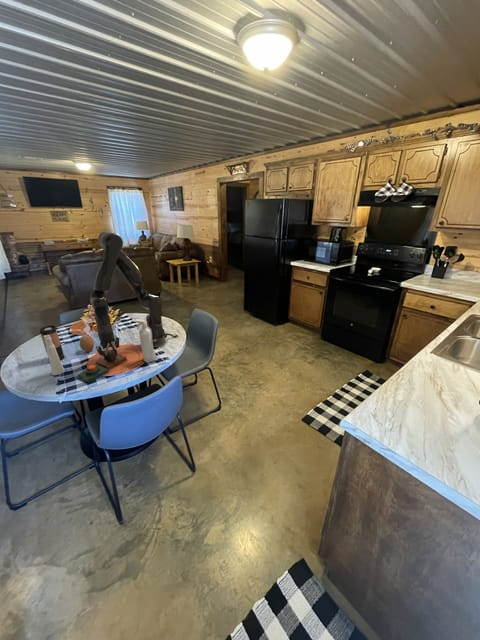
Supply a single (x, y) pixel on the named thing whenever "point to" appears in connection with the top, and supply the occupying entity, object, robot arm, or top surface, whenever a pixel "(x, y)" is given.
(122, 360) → the panel
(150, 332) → the fire extinguisher
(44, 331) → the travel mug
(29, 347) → the top surface
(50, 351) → the cosmetic bottle
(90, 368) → the button
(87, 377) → the housing
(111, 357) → the knob
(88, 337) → the egg
